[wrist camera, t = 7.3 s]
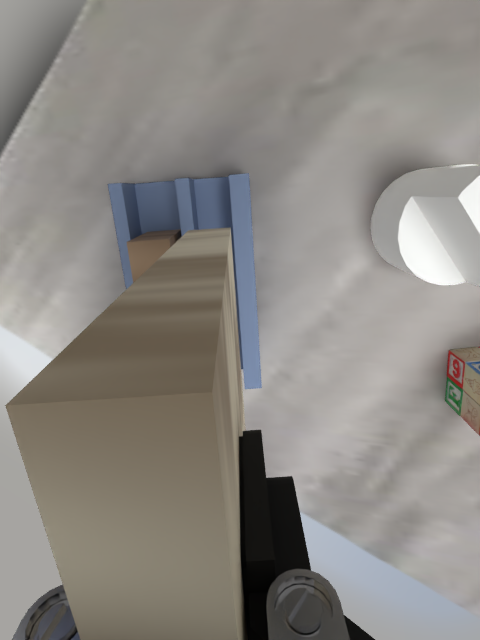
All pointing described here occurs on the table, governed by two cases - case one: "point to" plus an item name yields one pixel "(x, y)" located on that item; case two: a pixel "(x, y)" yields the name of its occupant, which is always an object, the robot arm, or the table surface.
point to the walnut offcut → (149, 249)
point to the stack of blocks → (464, 384)
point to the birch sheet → (146, 454)
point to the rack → (195, 214)
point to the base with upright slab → (431, 224)
